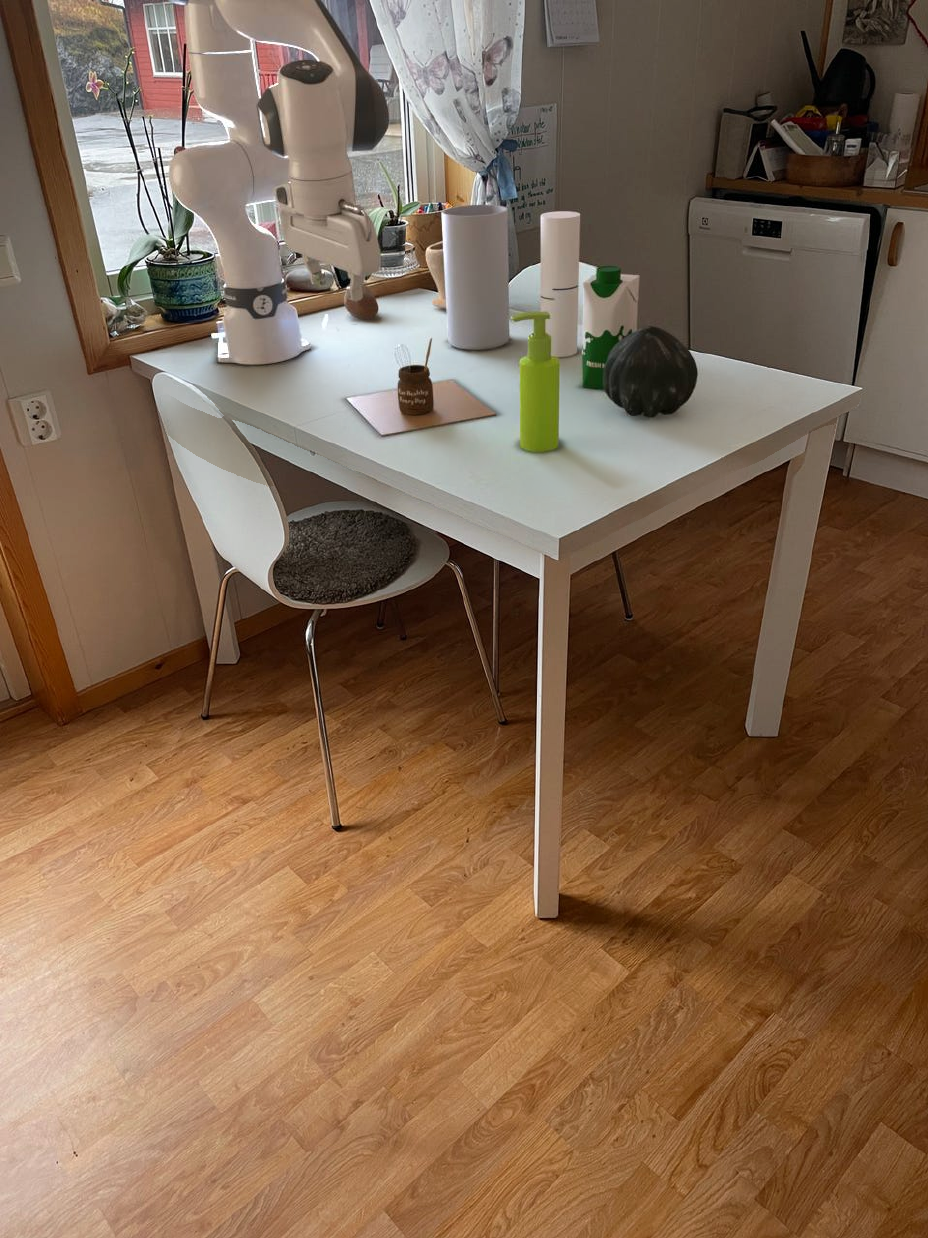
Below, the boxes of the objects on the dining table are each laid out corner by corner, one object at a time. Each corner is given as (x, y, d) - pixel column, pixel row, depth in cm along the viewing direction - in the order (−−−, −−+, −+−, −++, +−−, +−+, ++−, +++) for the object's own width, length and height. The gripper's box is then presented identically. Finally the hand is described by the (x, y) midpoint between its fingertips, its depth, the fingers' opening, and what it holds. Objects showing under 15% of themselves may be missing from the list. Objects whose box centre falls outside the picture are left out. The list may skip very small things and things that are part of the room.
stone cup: (418, 309, 219) (414, 240, 211) (459, 299, 225) (456, 231, 217) (459, 321, 208) (456, 249, 200) (501, 311, 214) (499, 240, 207)
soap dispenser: (511, 439, 150) (509, 309, 139) (555, 436, 150) (556, 306, 139) (516, 453, 145) (514, 319, 134) (561, 450, 145) (563, 316, 134)
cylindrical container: (575, 357, 184) (578, 217, 170) (538, 356, 185) (538, 218, 172) (578, 346, 190) (582, 210, 176) (542, 345, 191) (543, 211, 178)
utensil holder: (402, 403, 165) (396, 333, 159) (438, 404, 164) (434, 333, 158) (395, 416, 160) (389, 344, 154) (432, 416, 159) (428, 344, 153)
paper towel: (346, 399, 169) (346, 398, 169) (451, 380, 175) (451, 379, 175) (381, 436, 153) (381, 435, 153) (496, 414, 159) (496, 413, 159)
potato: (360, 323, 210) (357, 291, 207) (336, 315, 218) (332, 283, 214) (387, 317, 214) (384, 285, 210) (362, 309, 221) (359, 277, 217)
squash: (670, 354, 165) (627, 297, 155) (728, 381, 154) (685, 321, 144) (615, 419, 166) (569, 366, 156) (669, 450, 155) (622, 395, 145)
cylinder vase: (520, 337, 196) (519, 206, 183) (489, 354, 188) (485, 217, 174) (469, 330, 202) (464, 203, 189) (436, 346, 194) (428, 213, 180)
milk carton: (576, 388, 169) (578, 270, 158) (592, 372, 175) (595, 258, 165) (624, 393, 165) (630, 273, 155) (639, 377, 172) (645, 261, 161)
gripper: (386, 202, 130) (396, 302, 139) (302, 177, 143) (316, 271, 151) (348, 213, 127) (361, 314, 136) (266, 187, 140) (282, 282, 148)
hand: (336, 291), depth 144 cm, fingers open, 8 cm apart
